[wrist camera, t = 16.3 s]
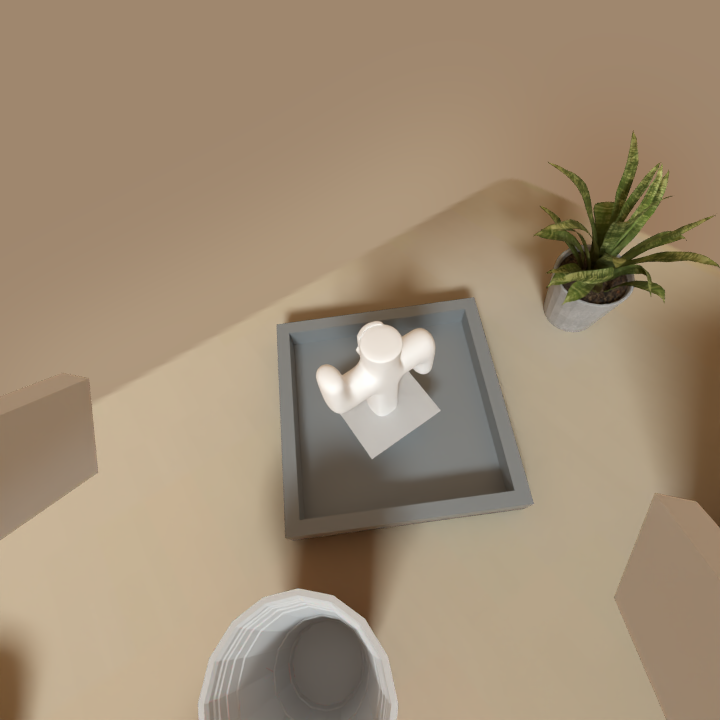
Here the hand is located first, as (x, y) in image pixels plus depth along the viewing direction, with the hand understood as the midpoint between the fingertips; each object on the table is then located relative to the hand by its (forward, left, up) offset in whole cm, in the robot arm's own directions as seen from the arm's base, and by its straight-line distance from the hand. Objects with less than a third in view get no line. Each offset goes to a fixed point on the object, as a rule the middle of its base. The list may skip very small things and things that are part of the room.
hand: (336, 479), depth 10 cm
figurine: (-2, -11, -29) cm, 31 cm away
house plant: (-23, -21, -30) cm, 43 cm away
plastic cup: (+5, +8, -30) cm, 31 cm away
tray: (-3, -11, -30) cm, 32 cm away
